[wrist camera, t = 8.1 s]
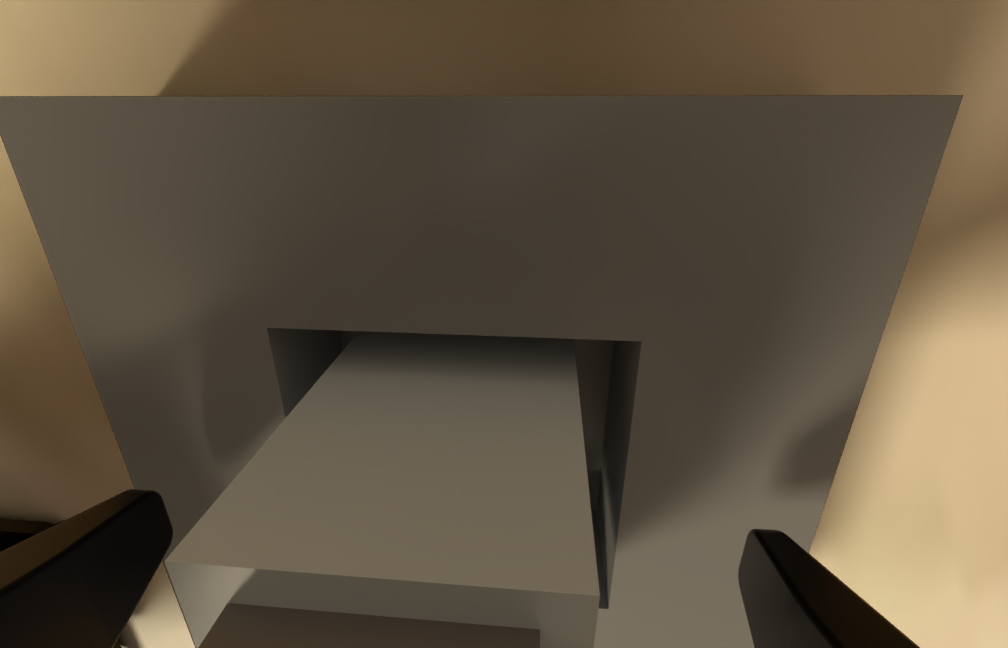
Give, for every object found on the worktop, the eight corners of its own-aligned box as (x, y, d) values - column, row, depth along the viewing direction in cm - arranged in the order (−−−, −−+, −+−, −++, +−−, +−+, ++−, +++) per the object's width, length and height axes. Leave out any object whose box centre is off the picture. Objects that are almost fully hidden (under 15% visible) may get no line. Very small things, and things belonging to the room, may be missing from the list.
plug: (390, 471, 12) (125, 1076, 4) (373, 314, 10) (-89, 859, 3) (561, 481, 11) (581, 1151, 4) (571, 321, 10) (636, 956, 2)
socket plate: (273, 568, 14) (207, 679, 11) (152, 99, 9) (-14, 96, 7) (707, 600, 13) (748, 730, 10) (826, 99, 8) (963, 95, 6)
